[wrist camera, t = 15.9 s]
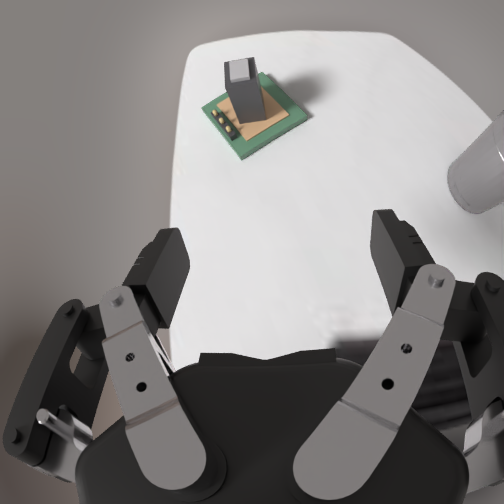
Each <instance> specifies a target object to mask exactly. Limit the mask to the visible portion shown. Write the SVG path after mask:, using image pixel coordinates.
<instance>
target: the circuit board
mask: <svg viewBox="0 0 504 504" xmlns="http://www.w3.org/2000/svg"><path fill="white" fill-rule="evenodd" d="M258 76H259V80H260V84H261V89H262V93H263V98H264V106H265V114H266V120H264V121H257V122H251V123H244V124H239V121H238V118H237V116H236V113H235V111H234V108H233V106H232V103H231V101H230V98H229V96H228V93H227V92H226V93H224V94H222V95H221V96H219V97H218V98H216V99H214V100H213V101H211V102H210V103H208V104H206V105H205V106H203V107H202V110H203V112H204V113H205V114H206V116H207V117H208V118H209V119H210V121H211V122H212V123H213V124H214V126H215V127H216V128H217V129H218V131H219V132H220V133H221V135H222V136H223V137H224V138H225V140H226V141H227V142H228V144H229V145H230V146H231V147H232V149H233V150H234V151H235V153H236V154H237V155H238V157H239V158H240V159H241V160H243V159H244V158H246V157H248V156H249V155H251V154H252V153H254V152H255V151H257V150H258V149H260V148H261V147H263V146H265V145H266V144H268V143H269V142H271V141H273V140H274V139H276V138H277V137H279V136H281V135H282V134H284V133H286V132H287V131H289V130H291V129H292V128H294V127H296V126H297V125H299V124H301V123H302V122H304V121H306V120H307V115H306V114H305V113H304V112H303V111H302V110H301V109H300V108H299V107H298V106H297V105H296V104H295V103H294V102H293V101H292V100H291V99H290V98H289V97H288V96H287V95H286V94H285V93H284V92H283V91H282V90H281V89H280V88H279V87H278V86H277V85H276V84H275V83H274V82H273V81H272V80H270V79H269V78H268V77H267V76H266V75H265V74H264V73H263V72H261V73H259V74H258Z"/></svg>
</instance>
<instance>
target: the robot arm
mask: <svg viewBox="0 0 504 504" xmlns="http://www.w3.org/2000/svg"><path fill="white" fill-rule="evenodd" d="M448 184H449V188H450V191H451V193H452V195H453V197H454V199H455V200H456V202H457V203H458V204H459V205H460V206H461V207H462V208H463V209H464V210H466V211H468V212H470V213H474V214H479V213H482V212H484V211H486V210H488V209H490V208H492V207H494V206H496V205H498V204H500V203H502V202H503V201H504V110H503V111H502V112H501V113H500V114H499V115H498V116H497V118H496V119H495V120H494V121H493V122H492V123H491V124H490V125H489V126H488V127H487V128H486V130H485V131H484V132H483V133H482V134H481V135H480V136H479V137H478V138H477V139H476V140H475V141H474V142H473V143H472V144H471V145H470V146H469V147H468V148H467V149H466V150H465V151H464V152H463V153H462V154H461V155H460V156H459V157H458V158H457V159H456V160H455V161H454V162H453V163H452V164H451V166H450V167H449V170H448ZM370 249H371V256H372V259H373V261H374V264H375V267H376V270H377V272H378V275H379V278H380V281H381V284H382V286H383V289H384V292H385V295H386V298H387V301H388V304H389V307H390V311H391V314H392V319H391V321H390V322H389V324H388V326H387V328H386V330H385V331H384V333H383V335H382V337H381V338H380V340H379V342H378V343H377V345H376V347H375V348H374V350H373V352H372V353H371V355H370V357H369V358H368V360H367V361H366V363H365V365H364V366H361V365H359V364H357V363H355V362H352V361H349V360H345V359H341V358H336V353H335V348H331V349H319V350H306V351H299V352H295V353H291V354H288V355H284V356H280V357H276V358H273V359H268V360H262V359H257V358H252V357H247V356H242V355H238V354H233V353H200V358H199V362H198V363H194V364H191V365H188V366H186V367H183V368H181V369H179V370H177V371H176V370H175V369H174V367H173V365H172V363H171V361H170V359H169V357H168V355H167V353H166V351H165V349H164V347H163V345H162V343H161V341H160V339H159V337H158V336H157V334H156V333H157V330H158V328H165V329H166V328H167V329H169V327H170V324H171V321H172V318H173V315H174V312H175V309H176V307H177V304H178V301H179V298H180V295H181V292H182V289H183V287H184V284H185V281H186V278H187V275H188V273H189V269H190V260H189V256H188V253H187V250H186V247H185V244H184V241H183V238H182V235H181V233H180V230H179V229H178V228H168V229H161V230H160V231H159V232H158V234H157V235H156V237H155V239H154V240H153V242H150V243H149V244H148V245H147V246H146V247H144V248H143V249H142V251H141V253H140V254H139V256H138V259H136V261H135V263H134V266H132V268H131V270H130V272H129V274H128V275H127V277H126V279H125V281H124V282H123V284H122V286H118V287H115V288H113V289H111V290H109V291H108V292H107V293H106V294H104V295H103V297H102V298H101V300H100V303H99V304H98V305H95V306H91V307H88V308H85V306H84V305H83V303H82V302H81V301H80V300H79V299H73V300H70V301H68V302H66V303H64V304H63V305H62V306H61V307H60V308H59V309H58V311H57V313H56V314H55V316H54V318H53V320H52V322H51V324H50V326H49V328H48V329H47V331H46V333H45V335H44V337H43V339H42V341H41V343H40V345H39V347H38V349H37V351H36V353H35V355H34V357H33V359H32V362H31V364H30V366H29V368H28V370H27V373H26V375H25V377H24V380H23V382H22V384H21V387H20V390H19V392H18V394H17V397H16V399H15V402H14V404H13V407H12V410H11V412H10V415H9V418H8V421H7V424H6V427H5V430H4V434H3V444H4V448H5V450H6V451H7V453H8V454H10V455H11V456H13V457H15V458H17V459H18V460H21V461H22V462H24V463H25V464H26V465H28V466H30V467H32V468H34V469H36V470H38V471H40V472H42V473H44V474H46V475H48V476H52V477H55V478H58V479H60V480H62V481H65V482H74V483H76V487H77V491H78V497H79V504H462V503H463V501H464V498H465V495H466V494H467V493H470V492H473V491H475V490H478V489H480V488H483V487H485V486H495V485H498V484H500V483H502V482H504V280H503V279H502V278H500V277H499V276H498V275H496V274H493V273H490V272H483V273H480V274H479V275H478V276H477V278H476V280H475V283H469V282H462V281H457V280H455V277H454V275H453V274H452V272H451V271H449V270H448V269H447V268H445V267H443V266H441V265H437V264H436V263H435V262H434V260H433V258H432V256H431V255H430V253H429V251H428V250H427V248H426V246H425V245H424V243H423V242H422V240H421V238H420V237H419V236H418V234H417V232H416V230H415V229H414V227H413V226H411V225H410V224H408V223H407V222H406V221H399V219H398V218H397V216H396V215H395V213H394V211H393V210H392V209H385V210H374V211H373V216H372V229H371V241H370ZM487 334H488V336H489V338H488V336H487ZM440 339H441V340H449V341H453V344H454V347H455V351H456V354H457V357H458V361H459V364H460V368H461V371H462V375H463V379H464V383H465V387H466V391H467V396H468V400H469V405H470V410H471V415H472V420H473V421H472V422H471V423H470V425H469V426H468V428H467V431H466V434H465V444H464V451H463V453H462V452H461V451H460V449H459V448H458V447H456V446H455V445H454V444H453V443H452V442H451V441H450V440H448V439H447V438H446V437H445V436H444V435H442V433H440V432H439V431H438V430H437V429H436V428H435V427H434V426H432V425H431V424H430V423H429V422H428V421H427V420H426V419H424V418H423V417H422V416H421V415H420V414H419V413H418V412H416V411H415V410H414V409H413V408H412V407H411V404H412V402H413V400H414V398H415V396H416V394H417V392H418V390H419V388H420V386H421V383H422V381H423V379H424V377H425V375H426V372H427V370H428V368H429V365H430V363H431V360H432V358H433V355H434V353H435V350H436V348H437V345H438V342H439V340H440ZM489 339H490V341H491V344H492V346H491V344H490V341H489ZM75 347H77V348H78V349H79V350H80V351H81V352H82V354H81V356H80V359H79V362H78V364H77V366H76V369H75V371H74V374H73V373H72V372H71V370H70V366H69V362H70V358H71V356H72V354H73V352H74V349H75ZM108 371H110V375H111V378H112V382H113V385H114V388H115V391H116V394H117V397H118V400H119V403H120V406H121V409H122V412H123V416H122V417H121V418H120V419H119V420H117V421H116V422H115V423H114V424H113V425H112V426H110V427H109V428H108V429H107V430H106V431H105V432H103V433H102V434H101V435H100V436H99V437H97V438H96V439H95V440H93V436H92V432H91V428H92V424H93V421H94V417H95V413H96V409H97V406H98V403H99V400H100V397H101V393H102V390H103V387H104V384H105V381H106V377H107V374H108Z"/></svg>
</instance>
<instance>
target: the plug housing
mask: <svg viewBox="0 0 504 504" xmlns="http://www.w3.org/2000/svg"><path fill="white" fill-rule="evenodd" d="M224 70H225V89H226V91H227V93H228V96H229V98H230V101H231V103H232V106H233V108H234V111H235V113H236V116H237V118H238V121H239V124H244V123H251V122H257V121H264V120H266V114H265V106H264V98H263V93H262V89H261V84H260V80H259V76H258V72H257V68H256V64H255V60H254V57H251V58H245V59H240V60H234V61H229V62H224Z"/></svg>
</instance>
